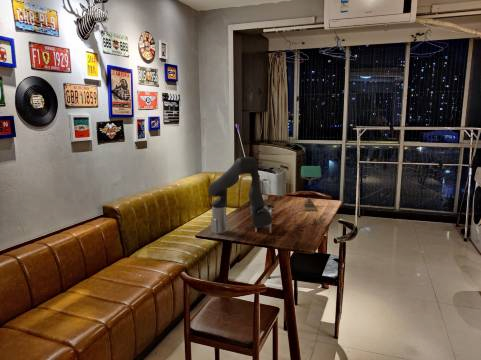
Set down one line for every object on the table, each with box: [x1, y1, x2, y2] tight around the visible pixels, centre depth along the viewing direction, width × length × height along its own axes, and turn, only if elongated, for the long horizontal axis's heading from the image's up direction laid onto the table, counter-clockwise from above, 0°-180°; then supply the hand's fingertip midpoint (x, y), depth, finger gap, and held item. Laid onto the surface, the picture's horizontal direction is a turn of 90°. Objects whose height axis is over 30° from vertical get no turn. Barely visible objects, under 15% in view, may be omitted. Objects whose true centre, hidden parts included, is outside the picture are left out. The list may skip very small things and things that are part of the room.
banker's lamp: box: [300, 165, 322, 212], centre depth 290 cm, size 16×21×35 cm
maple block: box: [262, 194, 269, 204], centre depth 220 cm, size 6×12×11 cm, turn 176°
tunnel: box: [254, 210, 272, 234], centre depth 238 cm, size 10×11×14 cm
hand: (263, 204), depth 219 cm, fingers closed on maple block, 5 cm apart
